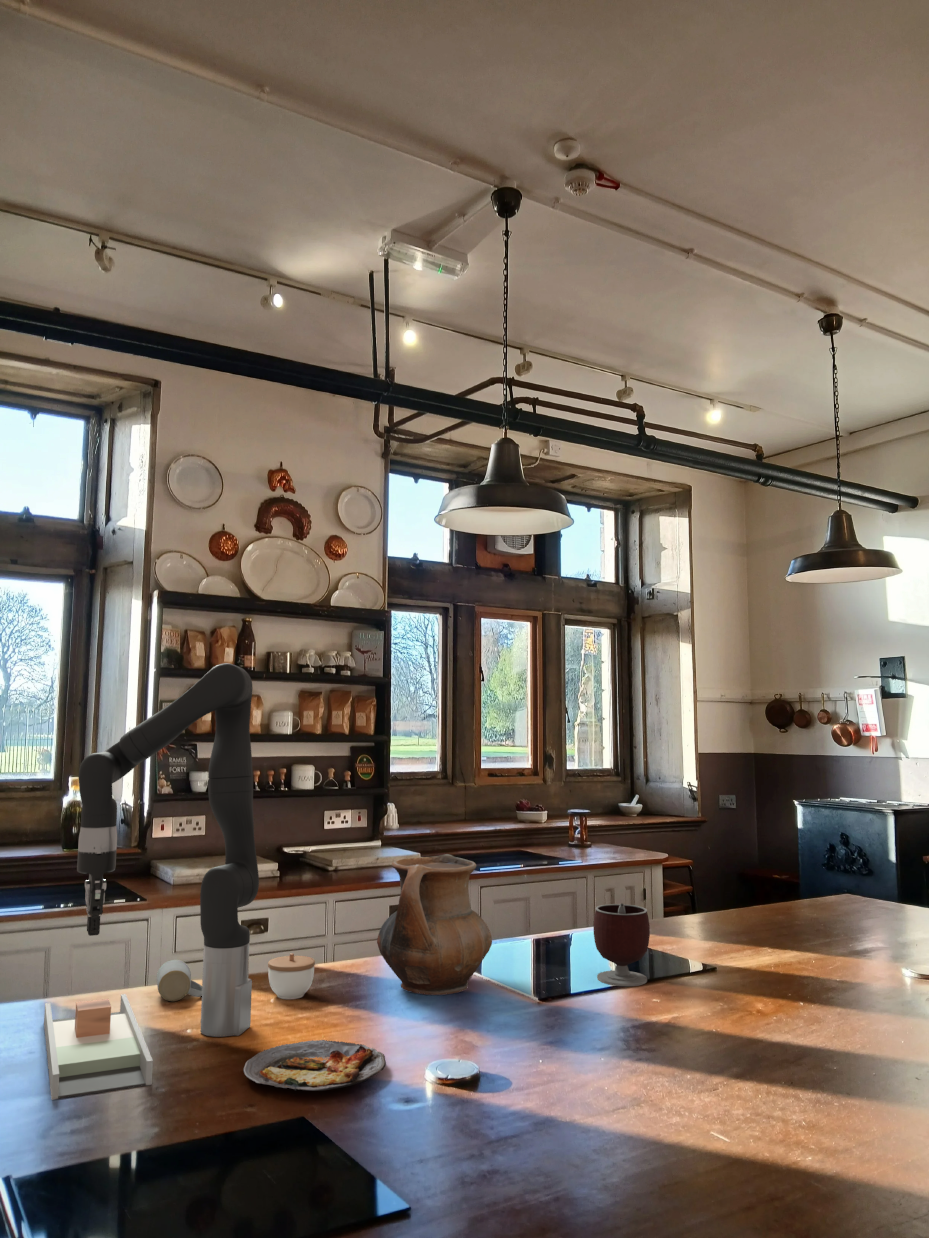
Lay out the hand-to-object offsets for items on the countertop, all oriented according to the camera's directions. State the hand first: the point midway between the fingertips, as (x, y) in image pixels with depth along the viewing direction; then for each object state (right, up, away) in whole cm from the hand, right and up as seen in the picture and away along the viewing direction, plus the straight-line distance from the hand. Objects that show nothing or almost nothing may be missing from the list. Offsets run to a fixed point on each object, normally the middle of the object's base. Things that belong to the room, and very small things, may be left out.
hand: (93, 932), depth 192 cm
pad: (+9, -17, -22) cm, 29 cm away
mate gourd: (+116, -25, +38) cm, 125 cm away
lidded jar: (+37, -22, +23) cm, 49 cm away
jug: (+70, -24, +32) cm, 80 cm away
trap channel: (+6, -18, -15) cm, 24 cm away
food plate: (+50, -17, -25) cm, 59 cm away
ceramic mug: (+12, -22, +21) cm, 32 cm away
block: (+4, -16, -11) cm, 19 cm away
